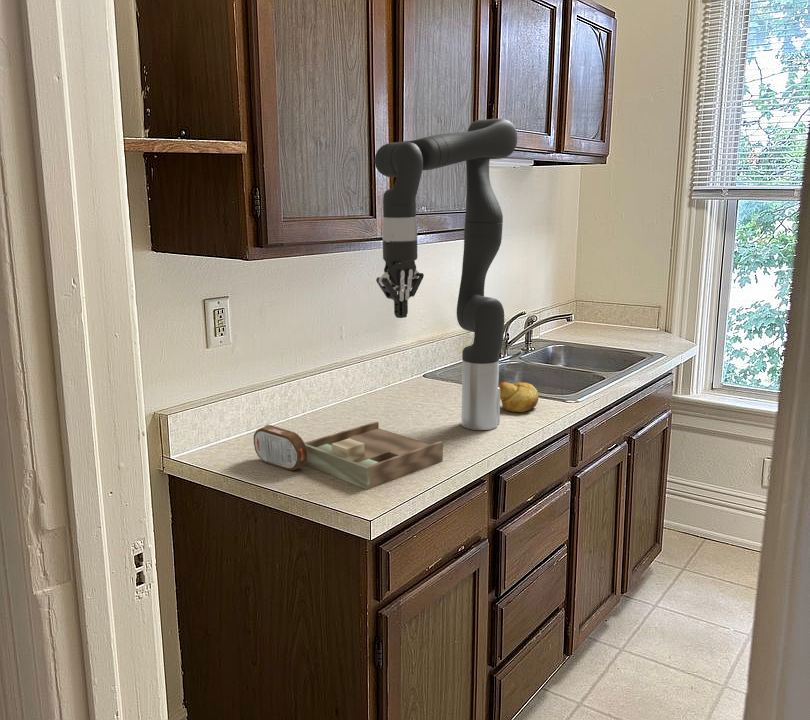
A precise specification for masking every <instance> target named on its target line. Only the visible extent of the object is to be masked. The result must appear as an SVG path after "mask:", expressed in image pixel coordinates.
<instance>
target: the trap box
mask: <svg viewBox="0 0 810 720" xmlns="http://www.w3.org/2000/svg"><path fill="white" fill-rule="evenodd" d="M379 424H380V423H379V421H373V422H370V423H366V424H363V425H360V426H359V425H358V426H357V427H356V426H355V427H353V428H350V429H347V430H342V431H340V432H337V433H333V434H329V435H326V436H323V437H319V438H316V439H312V440H308V441H306V442H304V443H305V445H306V448H307V461H306V464H305V465H304V466H308V467H310V468H313V469H315V470H317V471H320V472H322V473H326V474H328V475H331V476H333V477H335V478H338V479H340V480H343V481H345V482H348V483H351V484H353V485H355V486H357V487H359V488H363V489H365V490H369V489H372V488H374V487H376V486H380V485H382V484H385V483H387V482H390V481H393V480H395V479H398V478H401V477H404V476H406V475H409V474H411V473H414V472H417V471H420V470H422V469H425V468H428V467H430V466H434V465H436V464H439V463H442V462H443V461H444V460H443V459H444V458H443V457H444V456H443V454H444V453H443V452H444V442H443V441H442V440H440V441H436V442H433V443H431V444H430V443H426V442H423V441H421V440H417V439H414V438H411V437H408V436H405V435H402V434H398V433H395V432H392V431H389V430H386V429H383V428H382V429H381V428H379V427H380V425H379ZM345 439H352V440H355V441H358V442H361V443H364V449H365V457H363V458H360V459H357V460H354V461H351V460H348V459H346V458H343V457H340V456H338V455H335V454H332V446H331V444H332V443H336V442H339V441H342V440H345Z"/></svg>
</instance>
